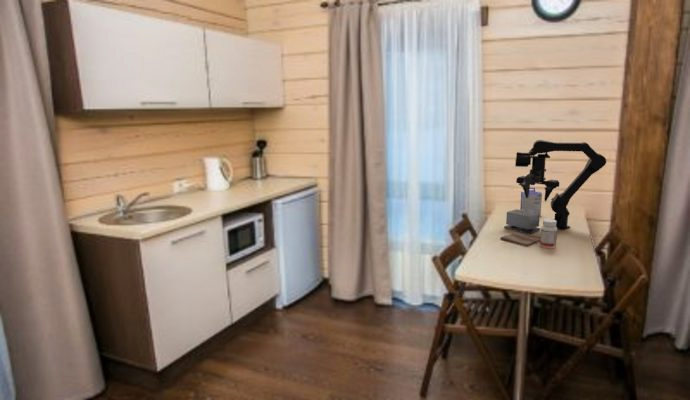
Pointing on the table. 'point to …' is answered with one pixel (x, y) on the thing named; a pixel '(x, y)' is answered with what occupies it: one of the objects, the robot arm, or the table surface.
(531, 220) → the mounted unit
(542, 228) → the pill bottle
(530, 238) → the plate
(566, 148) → the robot arm
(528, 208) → the ink cartridge box
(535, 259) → the table surface
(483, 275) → the table surface
